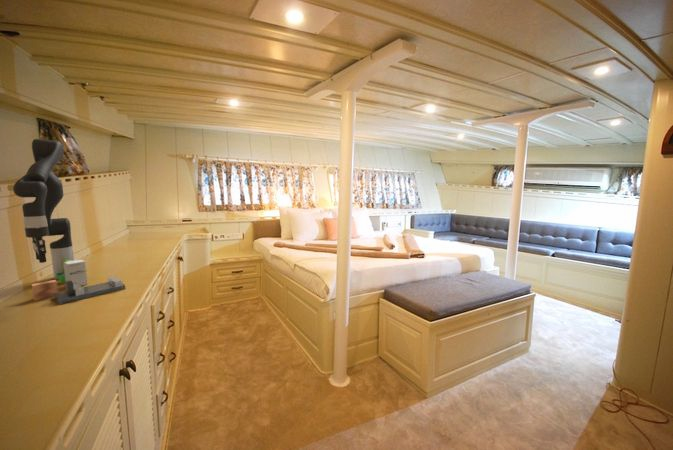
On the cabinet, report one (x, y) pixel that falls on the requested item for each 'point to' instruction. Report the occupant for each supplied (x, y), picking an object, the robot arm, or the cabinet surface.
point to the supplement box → (75, 272)
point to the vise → (91, 290)
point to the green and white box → (62, 274)
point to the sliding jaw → (73, 288)
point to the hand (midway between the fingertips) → (41, 260)
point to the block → (44, 289)
